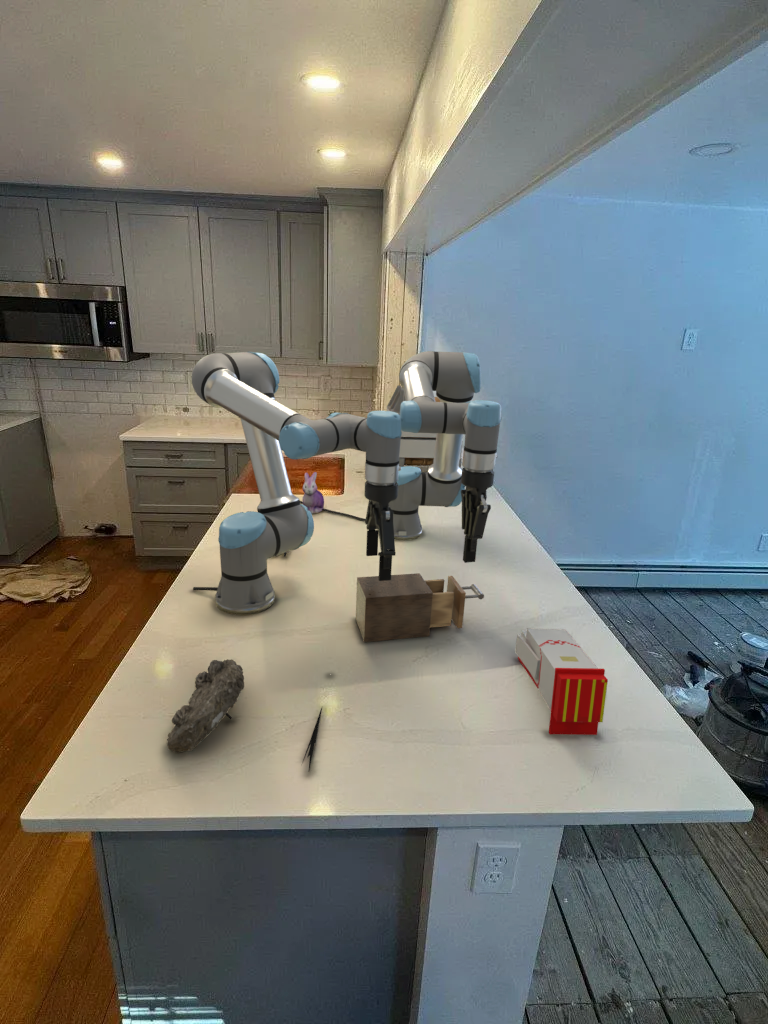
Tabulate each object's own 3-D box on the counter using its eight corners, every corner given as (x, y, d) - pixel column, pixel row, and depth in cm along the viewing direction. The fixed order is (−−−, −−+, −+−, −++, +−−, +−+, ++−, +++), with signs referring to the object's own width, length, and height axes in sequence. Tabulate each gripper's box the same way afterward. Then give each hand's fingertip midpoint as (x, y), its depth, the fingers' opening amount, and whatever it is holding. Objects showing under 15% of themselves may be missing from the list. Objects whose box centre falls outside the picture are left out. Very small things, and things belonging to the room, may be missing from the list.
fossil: (192, 660, 117) (244, 628, 112) (224, 691, 120) (276, 661, 115) (142, 746, 98) (202, 712, 93) (182, 779, 101) (242, 748, 96)
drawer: (470, 607, 150) (473, 574, 147) (484, 626, 142) (488, 591, 138) (394, 613, 146) (396, 579, 142) (404, 633, 137) (406, 597, 134)
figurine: (305, 516, 212) (305, 477, 207) (296, 507, 221) (296, 470, 216) (329, 512, 216) (329, 475, 211) (319, 504, 225) (319, 468, 220)
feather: (331, 679, 122) (336, 673, 122) (307, 777, 96) (313, 769, 95) (324, 675, 122) (329, 669, 121) (298, 772, 95) (304, 764, 95)
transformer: (382, 463, 289) (386, 382, 275) (445, 464, 293) (451, 384, 279) (390, 482, 257) (394, 392, 243) (460, 483, 261) (468, 394, 247)
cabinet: (416, 614, 148) (419, 573, 144) (429, 636, 138) (432, 592, 134) (355, 619, 144) (356, 577, 140) (364, 642, 134) (365, 598, 130)
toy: (561, 612, 132) (617, 675, 103) (556, 665, 135) (608, 741, 106) (510, 611, 132) (551, 674, 102) (505, 664, 134) (544, 741, 105)
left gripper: (413, 498, 117) (407, 590, 124) (384, 466, 139) (381, 545, 147) (377, 499, 115) (373, 592, 122) (354, 466, 138) (352, 547, 145)
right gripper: (505, 476, 127) (493, 571, 135) (482, 461, 139) (473, 549, 147) (473, 477, 125) (464, 573, 133) (453, 461, 137) (445, 551, 145)
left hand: (377, 567), depth 134 cm, fingers open, 13 cm apart
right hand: (468, 560), depth 140 cm, fingers closed
